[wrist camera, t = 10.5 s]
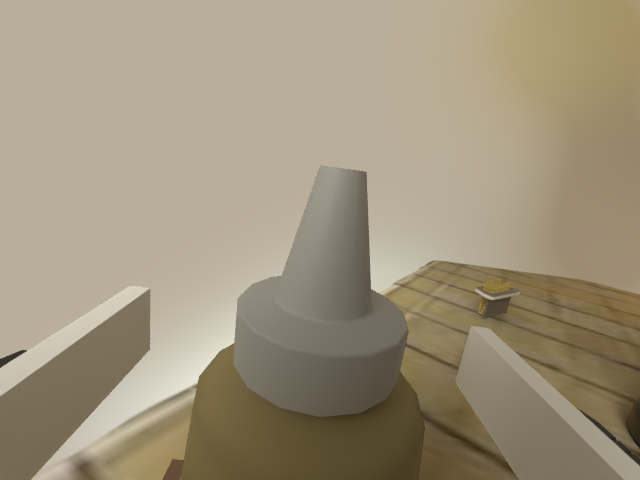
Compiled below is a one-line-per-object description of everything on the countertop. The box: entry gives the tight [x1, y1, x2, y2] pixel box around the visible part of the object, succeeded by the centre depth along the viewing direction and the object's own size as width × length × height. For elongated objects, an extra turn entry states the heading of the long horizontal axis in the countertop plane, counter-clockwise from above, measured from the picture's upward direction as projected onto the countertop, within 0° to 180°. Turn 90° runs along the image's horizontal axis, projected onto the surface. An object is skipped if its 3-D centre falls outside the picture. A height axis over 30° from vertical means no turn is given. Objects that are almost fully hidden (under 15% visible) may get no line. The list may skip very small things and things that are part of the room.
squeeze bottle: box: [181, 166, 425, 480], centre depth 9 cm, size 8×8×18 cm
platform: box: [475, 279, 520, 319], centre depth 54 cm, size 12×18×7 cm, turn 121°
